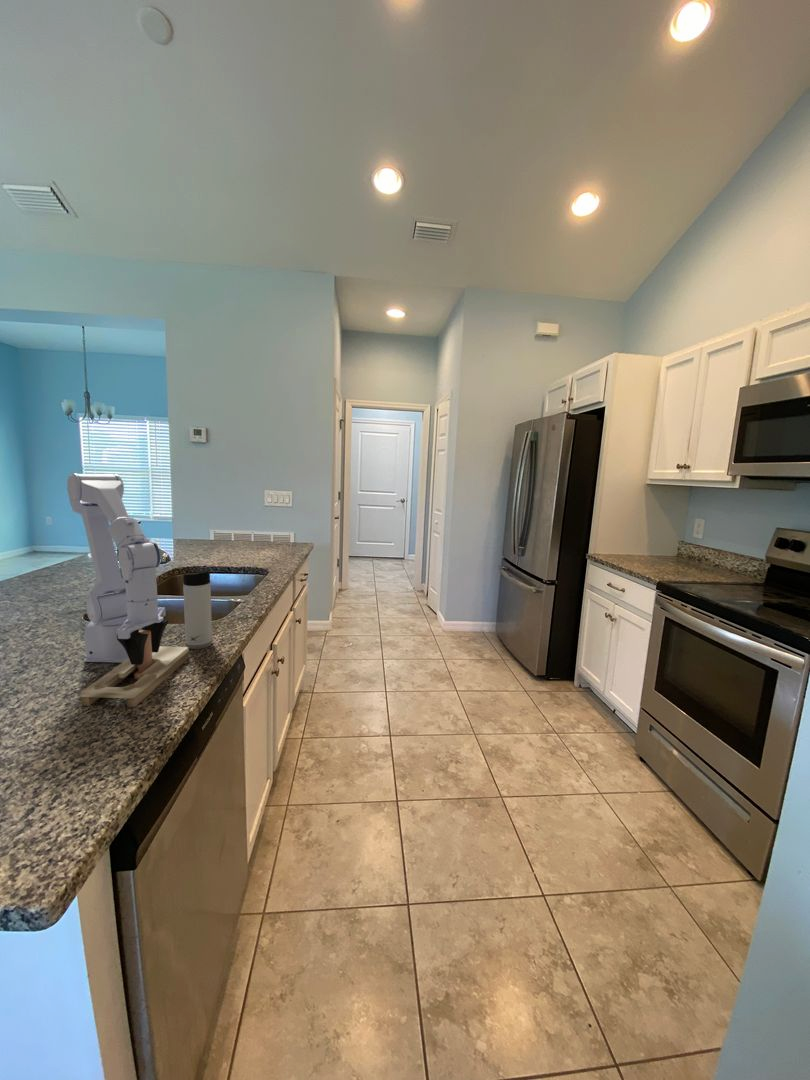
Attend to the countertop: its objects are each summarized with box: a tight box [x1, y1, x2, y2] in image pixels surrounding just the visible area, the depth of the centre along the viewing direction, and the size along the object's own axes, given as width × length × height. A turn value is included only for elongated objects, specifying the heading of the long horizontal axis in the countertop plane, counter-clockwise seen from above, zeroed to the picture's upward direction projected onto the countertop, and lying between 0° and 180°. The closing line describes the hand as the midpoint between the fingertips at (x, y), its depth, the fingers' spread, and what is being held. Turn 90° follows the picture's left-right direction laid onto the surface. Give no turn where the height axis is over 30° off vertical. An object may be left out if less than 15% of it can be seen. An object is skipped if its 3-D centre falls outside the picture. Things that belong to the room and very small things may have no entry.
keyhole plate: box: [80, 645, 190, 708], centre depth 94 cm, size 10×22×3 cm, turn 1°
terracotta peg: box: [133, 629, 153, 681], centre depth 95 cm, size 4×4×10 cm
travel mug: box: [182, 570, 213, 650], centre depth 111 cm, size 6×7×20 cm
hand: (145, 657), depth 95 cm, fingers open, 6 cm apart
